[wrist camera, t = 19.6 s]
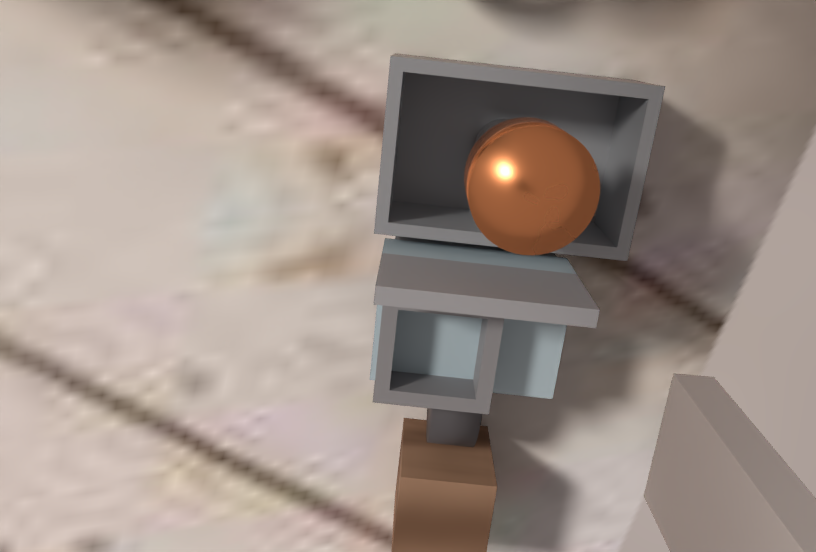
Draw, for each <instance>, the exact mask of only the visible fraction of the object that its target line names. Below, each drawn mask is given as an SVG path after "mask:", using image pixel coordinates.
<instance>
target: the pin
mask: <svg viewBox="0 0 816 552" xmlns="http://www.w3.org/2000/svg"><path fill="white" fill-rule="evenodd" d="M464 187H465V191H466V196H467V200H468V203H469V207H470V211H471V214H472V217H473V219H474V221H475V223H476V225H477V227H478V228H479V229H480V231H481V232H482V233H483V235H484V236H485V237H486V238H487V239H488V240H490V241H491V242H492V243H493V244H495V245H496V246H498V247H500V248H502V249H504V250H506V251H508V252H512V253H515V254H520V255H542V254H547V253H550V252H553V251H556V250H558V249H561V248H563V247H565V246H566V245H568V244H569V243H571V242H572V241H574V240H575V239H576V238H577V237H578V236H579V235H580V234H581V233H582V232H583V231H584V230H585V229H586V227H587V226H588V225H589V223H590V221H591V220H592V218H593V216H594V214H595V211H596V209H597V205H598V202H599V196H600V179H599V173H598V170H597V166H596V164H595V162H594V159H593V158H592V156H591V154H590V153H589V151H588V150H587V149H586V148H585V146H584V145H583V144H582V143H581V142H579V141H578V140H577V139H576V138H574V137H573V136H571V135H570V134H568V133H567V132H565V131H564V130H562V129H561V128H559V127H558V126H556V125H555V124H553V123H551V122H549V121H546V120H543V119H539V118H533V117H519V118H513V119H507V118H501V119H495V120H493V121H490V122H489V123H487V124H486V125H484V126H483V127H482V128H481V129H480V131H479V132H478V134H477V135H476V138H475V141H474V146H473V148H472V150H471V152H470V154H469V156H468V159H467V162H466V165H465V170H464Z"/></svg>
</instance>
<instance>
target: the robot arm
mask: <svg viewBox="0 0 816 552" xmlns="http://www.w3.org/2000/svg"><path fill="white" fill-rule="evenodd" d="M644 498H645V500H646V502H647V504H648V506H649V508H650V510H651V512H652V514H653V517H654V519H655V521H656V523H657V525H658V527H659V529H660V531H661V533H662V535H663V537H664V540H665V542H666V544H667V546H668V548H669V550H670V552H816V498H815V497H814V496H813V495H812V493H811V492H810V491H809V490H808V489H807V487H806V486H805V485H804V484H803V483H802V481H801V480H800V479H799V478H798V477H797V475H796V474H795V473H794V472H793V471H792V469H791V468H790V467H789V466H788V465H787V464H786V462H785V461H784V460H783V459H782V458H781V456H780V455H779V454H778V453H777V452H776V450H775V449H774V448H773V447H772V446H771V444H770V443H769V442H768V441H767V440H766V439H765V437H764V436H763V435H762V434H761V433H760V431H759V430H758V429H757V428H756V427H755V425H754V424H753V423H752V422H751V421H750V419H749V418H748V417H747V416H746V415H745V414H744V412H743V411H742V410H741V409H740V408H739V406H738V405H737V404H736V403H735V402H734V400H732V398H731V397H730V396H729V394H728V393H727V392H726V391H725V390H724V388H723V387H722V386H721V385H720V384H719V382H718V381H717V380H716V379H715V378H714V377H708V376H696V375H685V374H673V377H672V381H671V386H670V390H669V394H668V398H667V402H666V406H665V410H664V414H663V419H662V423H661V427H660V431H659V435H658V439H657V443H656V447H655V451H654V456H653V460H652V464H651V468H650V472H649V476H648V480H647V484H646V489H645V493H644Z"/></svg>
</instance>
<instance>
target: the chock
mask: <svg viewBox="0 0 816 552" xmlns="http://www.w3.org/2000/svg"><path fill="white" fill-rule="evenodd" d="M426 426H427V420H418V419H409V418H404V422H403V431H402V440H401V449H400V457H399V466H398V475H397V484H396V493H395V506H394V522H393V537H392V552H486V551H487V545H488V539H489V533H490V527H491V521H492V515H493V509H494V503H495V497H496V491H497V483H496V476H495V470H494V464H493V458H492V452H491V446H490V439H489V433H488V427H487V426H480V429H479V434H478V438H477V441H476V444H475V446H474V447H464V446H455V445H445V444H436V443H427V439H426Z"/></svg>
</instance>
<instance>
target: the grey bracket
mask: <svg viewBox="0 0 816 552" xmlns="http://www.w3.org/2000/svg"><path fill="white" fill-rule="evenodd" d="M374 305H377V311H376V321H375V331H374V342H373V352H372V362H371V372H370V380H375V385H374V395H373V402H375V403H384V404H394V405H403V406H413V407H422V408H427V426H426V439H427V443H436V444H445V445H455V446H464V447H474V446H475V444H476V441H477V438H478V434H479V429H480V424H481V418H482V414H488V415H489V411H490V404H491V398H492V393H500V394H509V395H519V396H528V397H537V398H547V399H553V394H554V389H555V384H556V379H557V373H558V368H559V363H560V358H561V353H562V348H563V343H564V337H565V332H566V327H567V325H570V326H579V327H589V328H596V326H597V321H598V316H599V311H600V309H599V308H598V306H597V305H596V303H595V302H594V300H593V299H592V297H591V295H590V294H589V292H588V291H587V289H586V288H585V286H584V285H583V283H582V281H581V280H580V278H579V277H578V275H577V274H576V272H575V271H574V269H573V267H572V266H571V264H570V263H569V261H568V260H567V258H562V257H556V255H555V254H554V253H547V254H542V255H520V254H515V253H512V252H508V251H506V250H504V249H502V248H500V247H493V246H484V245H475V244H466V243H456V242H447V241H438V240H429V239H420V238H410V237H401V236H396V238H395V239H387V238H385V242H384V247H383V252H382V257H381V262H380V266H379V271H378V276H377V281H376V287H375V297H374Z"/></svg>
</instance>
